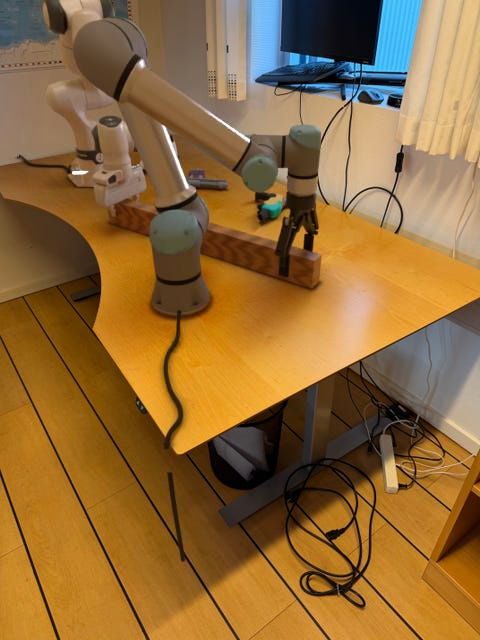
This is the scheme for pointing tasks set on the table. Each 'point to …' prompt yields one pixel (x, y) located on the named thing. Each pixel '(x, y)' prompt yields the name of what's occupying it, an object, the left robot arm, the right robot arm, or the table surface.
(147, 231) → the beam
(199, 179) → the toy gun
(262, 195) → the toy gun
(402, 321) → the table surface
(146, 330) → the table surface
